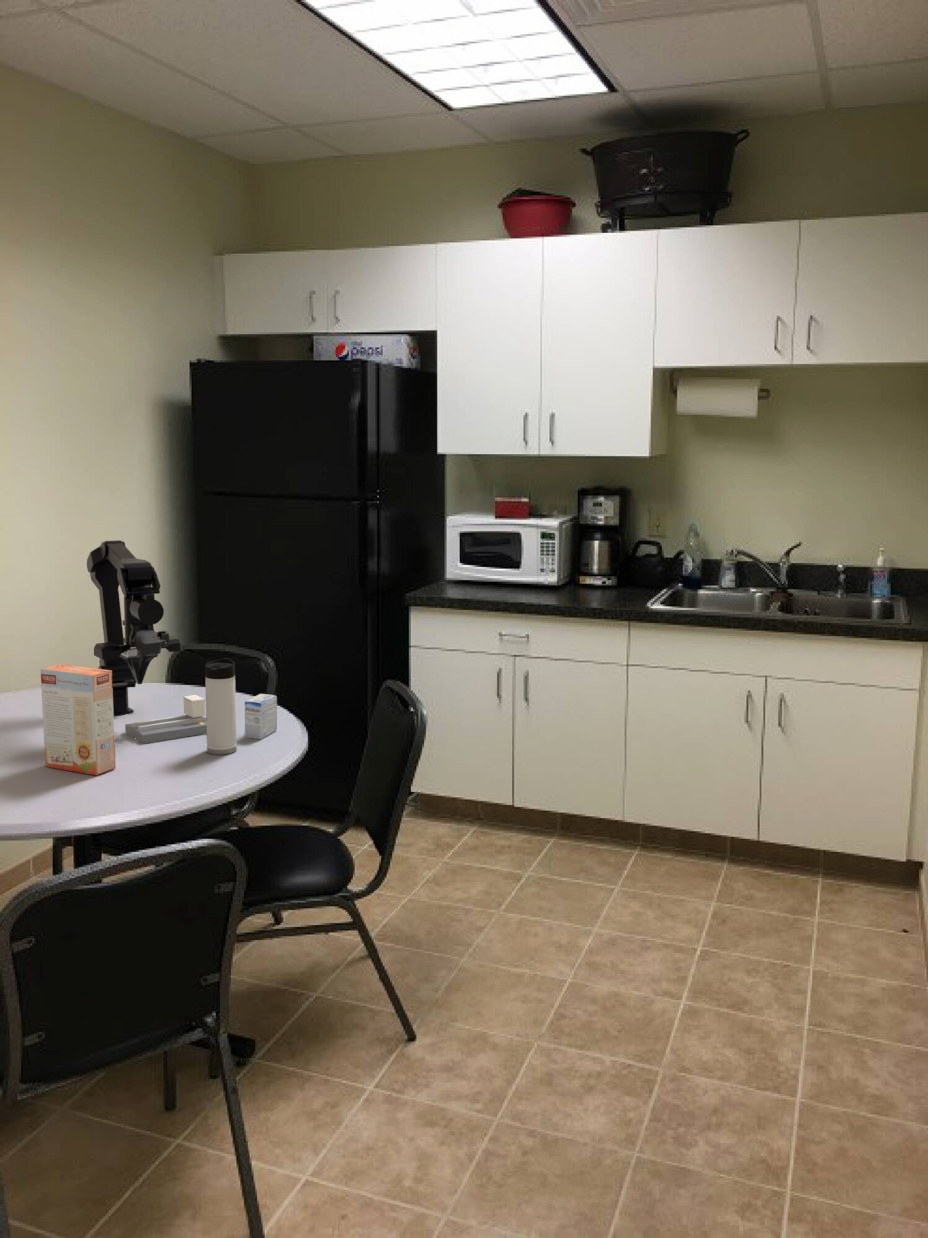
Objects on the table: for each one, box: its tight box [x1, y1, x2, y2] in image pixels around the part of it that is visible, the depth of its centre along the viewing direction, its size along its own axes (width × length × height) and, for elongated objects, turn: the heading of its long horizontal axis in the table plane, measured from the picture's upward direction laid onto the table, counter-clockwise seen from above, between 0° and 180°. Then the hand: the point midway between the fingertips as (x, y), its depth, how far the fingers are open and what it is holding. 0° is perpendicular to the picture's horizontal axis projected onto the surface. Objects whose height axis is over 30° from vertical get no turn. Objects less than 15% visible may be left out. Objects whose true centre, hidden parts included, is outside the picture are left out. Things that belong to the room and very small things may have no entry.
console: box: [124, 714, 207, 745], centre depth 247 cm, size 11×17×3 cm, turn 128°
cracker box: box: [40, 663, 116, 776], centre depth 218 cm, size 14×6×21 cm, turn 65°
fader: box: [183, 694, 206, 719], centre depth 250 cm, size 5×3×5 cm, turn 38°
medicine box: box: [244, 693, 278, 740], centre depth 246 cm, size 8×4×9 cm, turn 164°
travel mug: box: [204, 657, 237, 756], centre depth 232 cm, size 6×7×20 cm
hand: (139, 683), depth 246 cm, fingers closed
